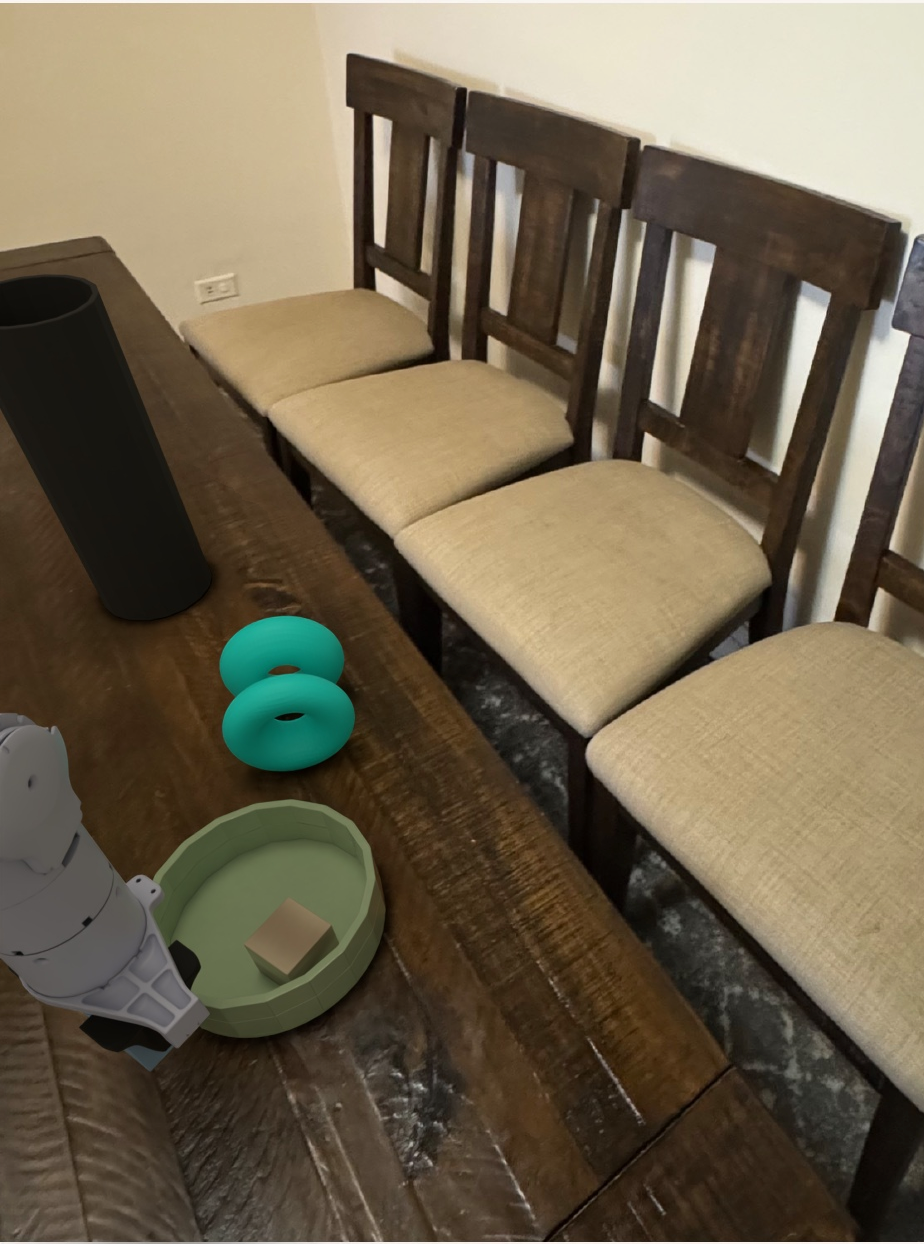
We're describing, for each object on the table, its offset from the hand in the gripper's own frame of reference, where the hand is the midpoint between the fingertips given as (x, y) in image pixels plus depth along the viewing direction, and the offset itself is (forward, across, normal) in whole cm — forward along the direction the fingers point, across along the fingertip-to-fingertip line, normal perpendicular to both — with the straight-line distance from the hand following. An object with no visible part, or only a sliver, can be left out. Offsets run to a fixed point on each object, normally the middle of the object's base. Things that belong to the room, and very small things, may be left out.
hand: (148, 1013), depth 50 cm
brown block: (+7, -2, -8) cm, 11 cm away
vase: (+8, +40, -29) cm, 50 cm away
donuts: (+8, +14, -23) cm, 28 cm away
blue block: (+1, 0, 0) cm, 1 cm away
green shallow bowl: (+7, +2, -9) cm, 12 cm away
